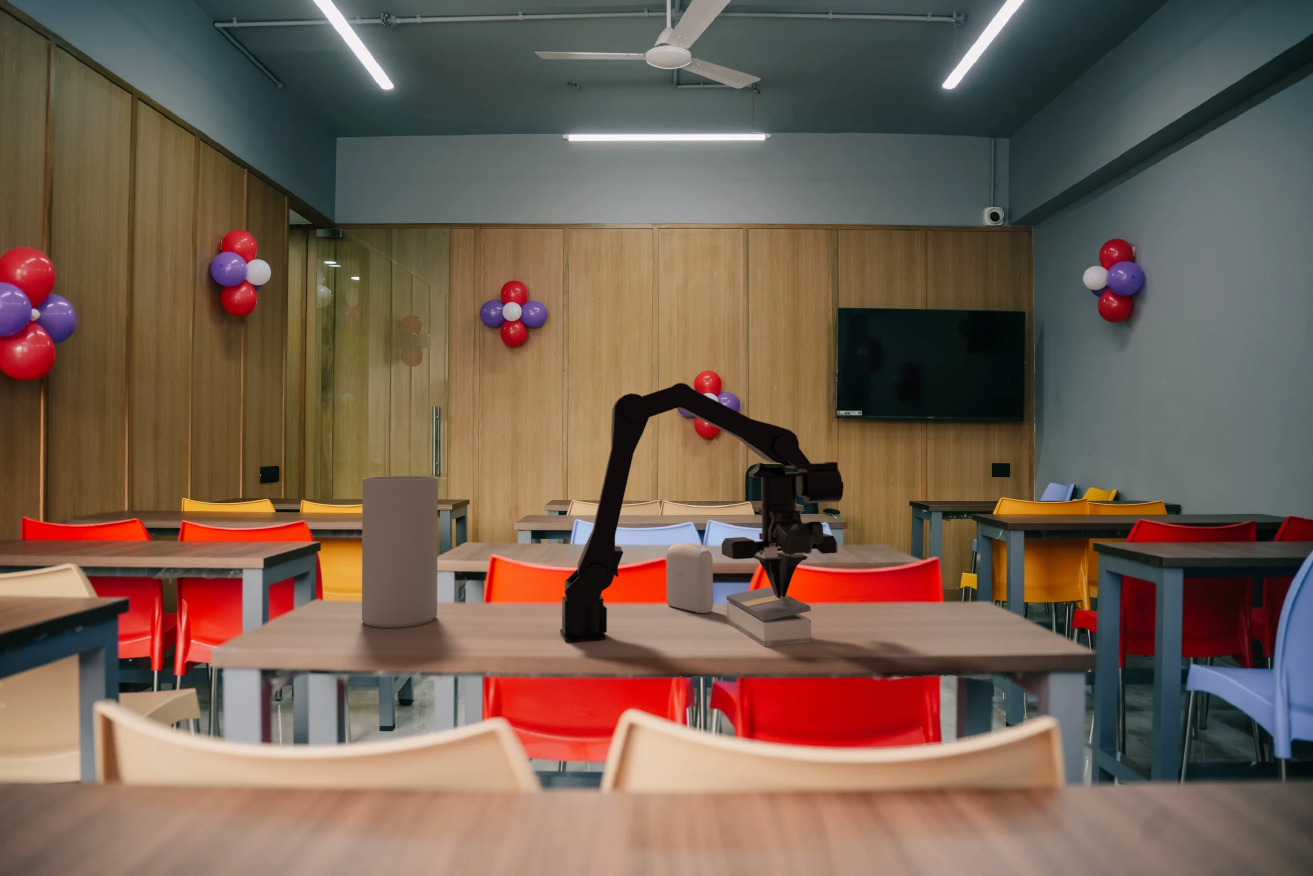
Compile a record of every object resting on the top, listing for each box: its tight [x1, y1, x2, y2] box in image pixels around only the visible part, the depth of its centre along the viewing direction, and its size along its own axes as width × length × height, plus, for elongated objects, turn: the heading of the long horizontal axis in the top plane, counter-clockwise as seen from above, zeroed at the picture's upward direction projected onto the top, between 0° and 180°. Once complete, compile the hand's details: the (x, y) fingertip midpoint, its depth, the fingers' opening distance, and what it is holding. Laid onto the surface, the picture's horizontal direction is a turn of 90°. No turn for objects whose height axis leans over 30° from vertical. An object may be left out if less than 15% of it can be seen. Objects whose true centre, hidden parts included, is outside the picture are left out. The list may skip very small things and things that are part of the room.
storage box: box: [726, 601, 812, 647], centre depth 126 cm, size 8×16×4 cm, turn 16°
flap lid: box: [725, 586, 812, 621], centre depth 126 cm, size 8×16×1 cm, turn 16°
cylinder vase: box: [361, 475, 439, 629], centre depth 133 cm, size 12×12×25 cm
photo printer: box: [665, 542, 714, 614], centre depth 143 cm, size 10×4×12 cm, turn 39°
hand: (780, 597), depth 127 cm, fingers closed, pressing on flap lid
